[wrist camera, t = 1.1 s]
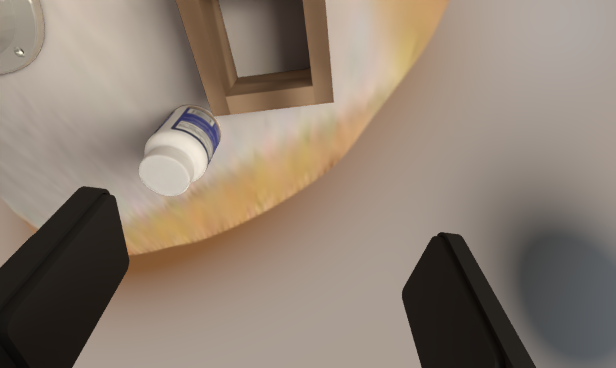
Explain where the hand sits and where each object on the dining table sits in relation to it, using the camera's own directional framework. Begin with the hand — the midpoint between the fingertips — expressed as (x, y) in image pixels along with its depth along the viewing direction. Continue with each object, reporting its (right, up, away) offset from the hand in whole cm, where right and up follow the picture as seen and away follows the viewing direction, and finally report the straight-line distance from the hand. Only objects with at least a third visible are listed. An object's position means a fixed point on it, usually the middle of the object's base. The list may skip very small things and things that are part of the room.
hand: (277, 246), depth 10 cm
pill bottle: (-10, +8, +23) cm, 26 cm away
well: (-2, +15, +17) cm, 23 cm away
